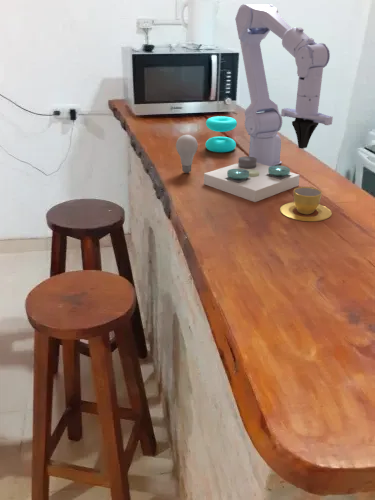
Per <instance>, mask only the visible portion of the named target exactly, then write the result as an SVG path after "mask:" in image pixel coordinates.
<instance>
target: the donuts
mask: <svg viewBox="0 0 375 500" xmlns="http://www.w3.org/2000/svg"><path fill="white" fill-rule="evenodd" d="M237 124H238V122H237V120H236V119H235V118H233V117H232V116H231V117H230V116H224V115H223V116H222V115H220V116H219V115H217V116H212V117H209V118H207V119H206V121H205V125H206V127H207V129H209V130H211V131H213V132H219V133H226V132H230V131H233V130H234V129H236V127H237ZM236 147H237V143H236V141H235V140H234V139H233V138H231V137H227V136H213V137H209V138H208V139H207V140H206V141H205V148H206V149H207V150H208V151H209V152H213V153H229V152H233V151H234V150H235V149H236Z"/></svg>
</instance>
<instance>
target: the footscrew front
mask: <svg viewBox="0 0 375 500" xmlns="http://www.w3.org/2000/svg"><path fill="white" fill-rule="evenodd" d="M227 176H228V177H229V178H230V181H233V182H236V183H241V182H244V181H246V178H248V177H249V171H247V170H245V169H230V170H228V171H227Z"/></svg>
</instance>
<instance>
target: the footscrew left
mask: <svg viewBox="0 0 375 500" xmlns="http://www.w3.org/2000/svg"><path fill="white" fill-rule="evenodd" d="M290 172H291V169H290V167H288V166H285V165H275V166H271V167H269V169H268V173H269V174H271V177H273V178H276V179H279V180H281V179H284V178H286V175H288V174H290Z"/></svg>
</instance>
